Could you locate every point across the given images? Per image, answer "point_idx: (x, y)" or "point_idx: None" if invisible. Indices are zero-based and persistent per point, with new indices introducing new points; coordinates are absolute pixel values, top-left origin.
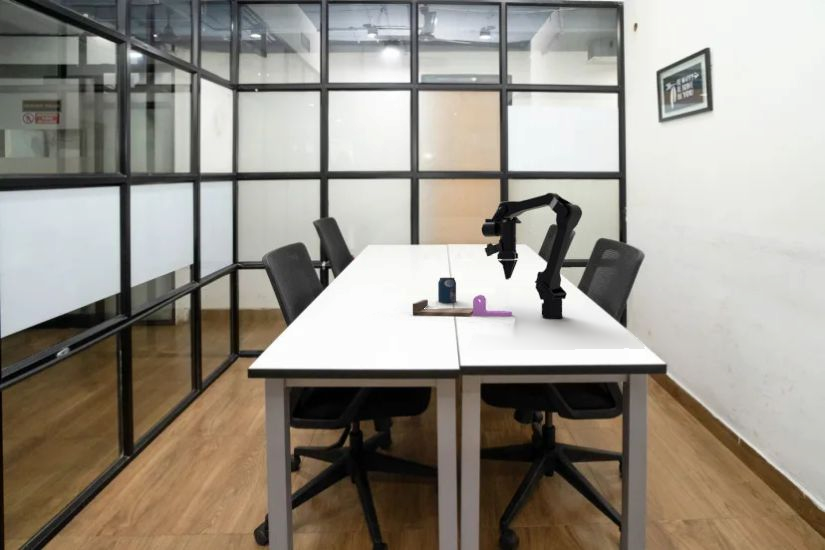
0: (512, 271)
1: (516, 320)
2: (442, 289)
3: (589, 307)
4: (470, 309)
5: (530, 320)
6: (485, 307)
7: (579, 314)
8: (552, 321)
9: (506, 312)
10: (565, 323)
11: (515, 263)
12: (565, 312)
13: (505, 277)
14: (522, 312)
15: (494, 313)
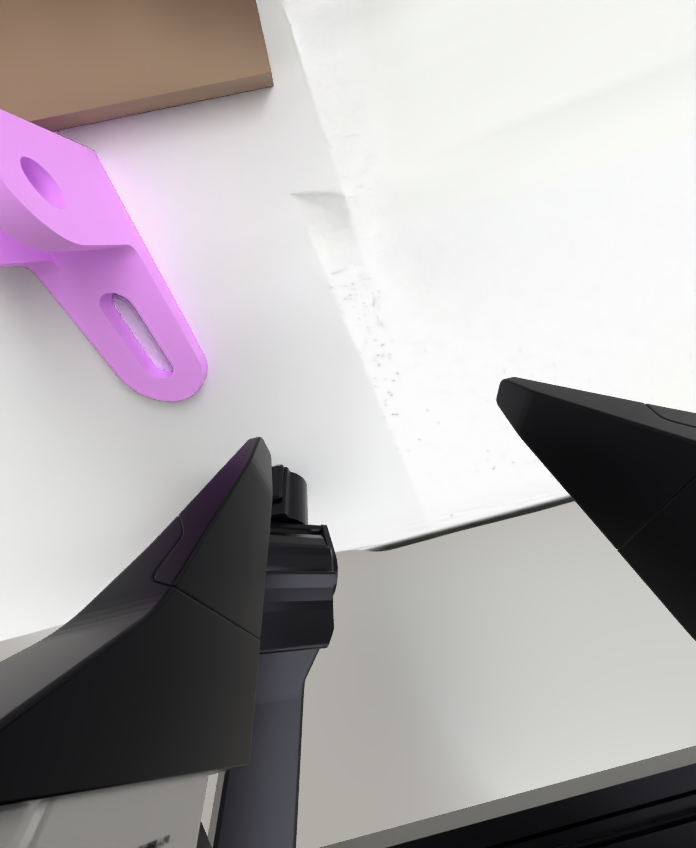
0: (546, 461)
1: (37, 455)
2: None
3: (520, 494)
4: (101, 46)
5: (89, 484)
6: (98, 248)
7: (339, 520)
8: (126, 525)
9: (136, 388)
10: (113, 550)
11: (640, 571)
12: (378, 489)
13: (240, 452)
14: (329, 393)
15: (88, 332)
